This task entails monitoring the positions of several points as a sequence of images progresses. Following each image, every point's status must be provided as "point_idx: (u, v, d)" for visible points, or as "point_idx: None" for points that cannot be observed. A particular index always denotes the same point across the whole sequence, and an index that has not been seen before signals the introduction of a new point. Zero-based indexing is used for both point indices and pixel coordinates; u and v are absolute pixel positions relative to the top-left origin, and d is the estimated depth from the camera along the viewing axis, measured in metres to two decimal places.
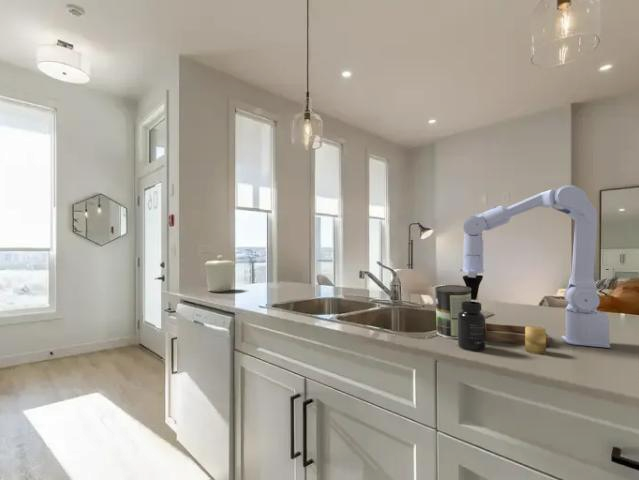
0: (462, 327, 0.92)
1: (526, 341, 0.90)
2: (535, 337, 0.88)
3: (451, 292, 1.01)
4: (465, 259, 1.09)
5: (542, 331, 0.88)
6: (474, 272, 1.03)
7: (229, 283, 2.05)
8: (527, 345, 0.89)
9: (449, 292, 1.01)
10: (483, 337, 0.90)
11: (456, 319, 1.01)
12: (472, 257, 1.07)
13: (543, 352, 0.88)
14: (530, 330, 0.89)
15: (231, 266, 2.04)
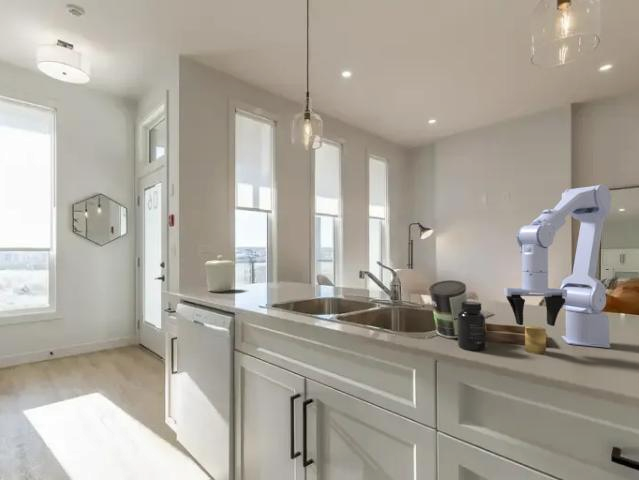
0: (462, 327, 0.92)
1: (526, 341, 0.90)
2: (535, 337, 0.88)
3: (450, 294, 0.98)
4: None
5: (542, 331, 0.88)
6: (506, 290, 0.90)
7: (229, 283, 2.05)
8: (527, 345, 0.89)
9: (448, 295, 0.99)
10: (483, 337, 0.90)
11: None
12: (523, 274, 0.90)
13: (543, 352, 0.88)
14: (530, 330, 0.89)
15: (231, 266, 2.04)
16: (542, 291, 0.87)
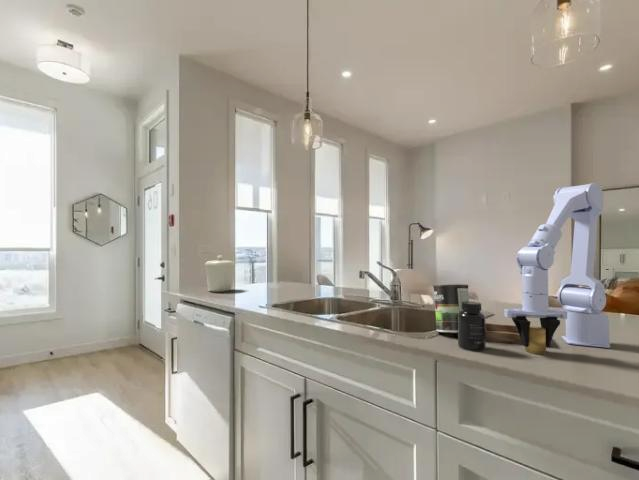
0: (462, 327, 0.92)
1: None
2: (535, 337, 0.88)
3: (458, 285, 1.04)
4: None
5: (542, 331, 0.88)
6: (506, 311, 0.90)
7: (229, 283, 2.05)
8: None
9: (457, 285, 1.04)
10: (483, 337, 0.90)
11: None
12: (523, 295, 0.90)
13: (543, 352, 0.88)
14: (530, 330, 0.89)
15: (231, 266, 2.04)
16: (542, 313, 0.87)
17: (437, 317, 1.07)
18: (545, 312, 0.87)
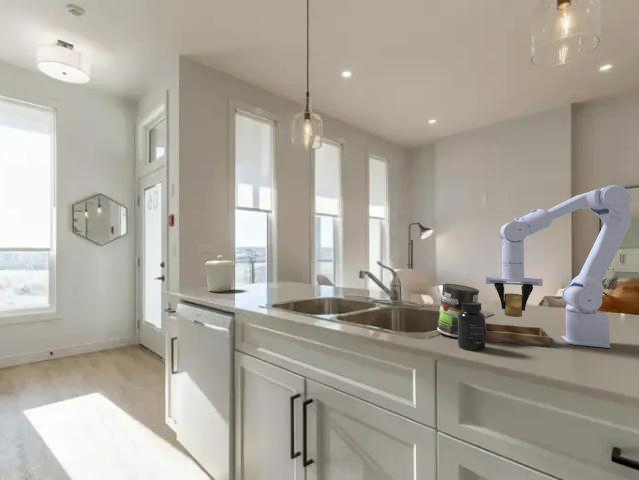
0: (462, 327, 0.92)
1: None
2: (510, 302, 1.01)
3: (475, 292, 1.01)
4: None
5: (516, 296, 1.00)
6: None
7: (229, 283, 2.05)
8: (505, 309, 1.02)
9: (474, 292, 1.01)
10: (483, 337, 0.90)
11: None
12: (502, 265, 1.04)
13: (517, 315, 1.00)
14: (506, 296, 1.01)
15: (231, 266, 2.04)
16: (515, 280, 1.00)
17: (445, 319, 1.04)
18: (518, 279, 1.00)
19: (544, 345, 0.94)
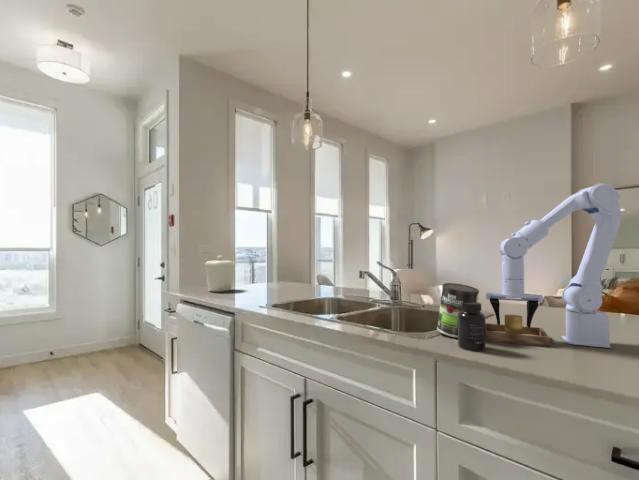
0: (462, 327, 0.92)
1: None
2: (510, 323, 1.01)
3: (478, 292, 1.02)
4: None
5: (517, 318, 1.00)
6: None
7: (229, 283, 2.05)
8: (505, 330, 1.02)
9: (477, 292, 1.01)
10: (483, 337, 0.90)
11: None
12: (502, 280, 1.04)
13: None
14: (507, 317, 1.02)
15: (231, 266, 2.04)
16: (515, 296, 1.00)
17: (449, 321, 1.02)
18: (518, 295, 0.99)
19: (544, 345, 0.94)
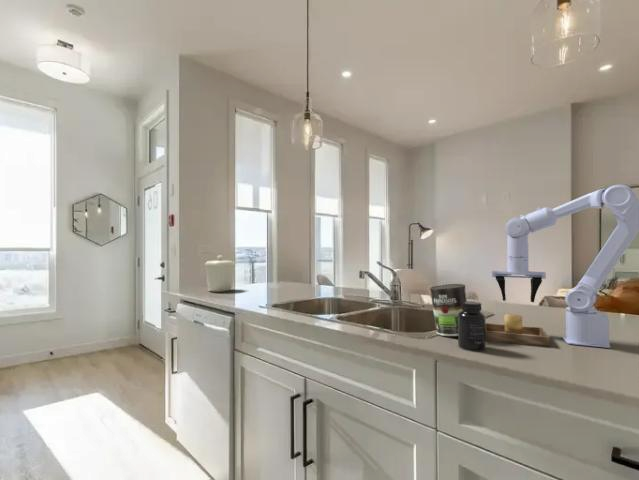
0: (462, 327, 0.92)
1: None
2: (510, 323, 1.01)
3: (464, 286, 1.05)
4: None
5: (517, 318, 1.00)
6: (492, 272, 1.11)
7: (229, 283, 2.05)
8: (505, 330, 1.02)
9: (464, 286, 1.04)
10: (483, 337, 0.90)
11: None
12: (507, 259, 1.10)
13: None
14: (506, 317, 1.02)
15: (231, 266, 2.04)
16: (520, 273, 1.06)
17: (447, 321, 1.03)
18: (522, 272, 1.06)
19: (544, 345, 0.94)
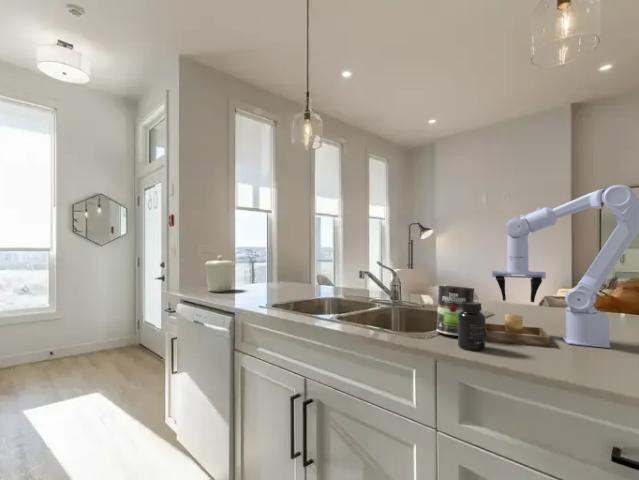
0: (462, 327, 0.92)
1: (505, 327, 1.03)
2: (510, 323, 1.01)
3: None
4: None
5: (517, 318, 1.00)
6: (492, 272, 1.11)
7: (229, 283, 2.05)
8: (505, 330, 1.02)
9: None
10: (483, 337, 0.90)
11: None
12: (507, 259, 1.10)
13: None
14: (507, 317, 1.02)
15: (231, 266, 2.04)
16: (520, 273, 1.06)
17: (453, 320, 1.03)
18: (522, 272, 1.06)
19: (544, 345, 0.94)
